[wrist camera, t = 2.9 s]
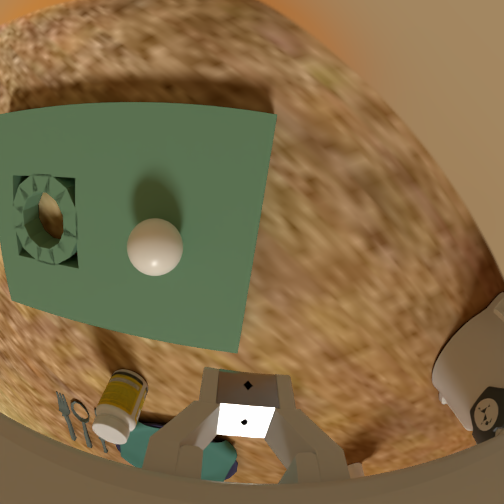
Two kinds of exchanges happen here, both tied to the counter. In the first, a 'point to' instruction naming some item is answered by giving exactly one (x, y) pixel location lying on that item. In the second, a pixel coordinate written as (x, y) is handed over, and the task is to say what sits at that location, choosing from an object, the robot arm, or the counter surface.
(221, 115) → the putting board
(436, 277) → the counter surface
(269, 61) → the counter surface
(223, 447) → the cutlery set
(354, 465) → the white tall piece
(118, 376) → the supplement bottle
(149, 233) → the golf ball
